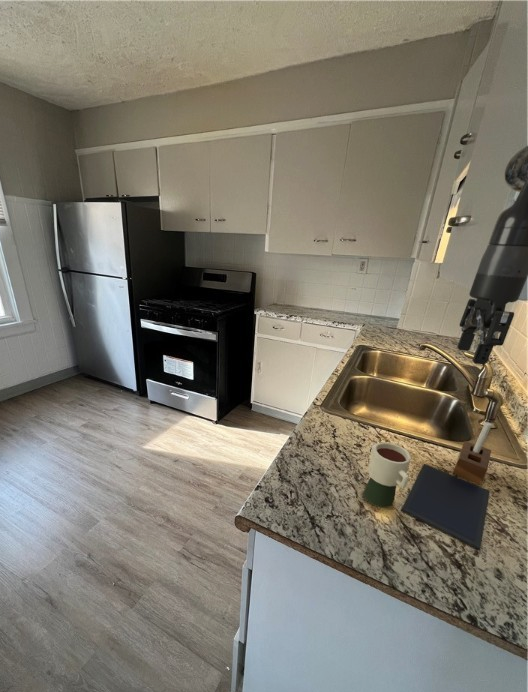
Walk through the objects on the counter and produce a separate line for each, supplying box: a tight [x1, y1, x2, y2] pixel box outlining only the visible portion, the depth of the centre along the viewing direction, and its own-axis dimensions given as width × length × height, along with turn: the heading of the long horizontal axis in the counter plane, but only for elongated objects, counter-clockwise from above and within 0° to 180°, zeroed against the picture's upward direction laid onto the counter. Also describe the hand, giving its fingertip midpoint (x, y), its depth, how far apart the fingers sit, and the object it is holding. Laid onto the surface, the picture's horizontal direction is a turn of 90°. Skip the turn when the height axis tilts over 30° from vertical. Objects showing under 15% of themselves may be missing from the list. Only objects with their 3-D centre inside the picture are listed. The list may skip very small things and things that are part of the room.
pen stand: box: [451, 440, 492, 486], centre depth 79 cm, size 10×6×5 cm, turn 140°
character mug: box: [363, 441, 412, 508], centre depth 67 cm, size 11×7×13 cm, turn 14°
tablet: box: [400, 463, 491, 551], centre depth 70 cm, size 20×14×1 cm
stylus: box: [473, 421, 493, 454], centre depth 79 cm, size 1×1×13 cm
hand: (470, 356), depth 64 cm, fingers open, 8 cm apart
